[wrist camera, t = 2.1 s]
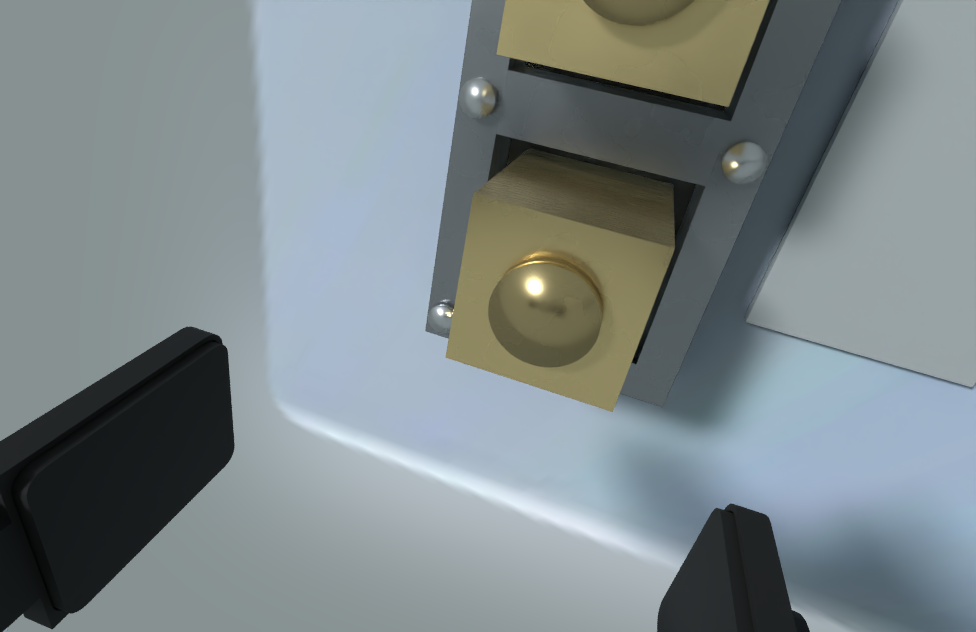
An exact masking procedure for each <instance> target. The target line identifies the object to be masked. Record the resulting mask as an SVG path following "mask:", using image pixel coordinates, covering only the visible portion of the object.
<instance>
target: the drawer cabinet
mask: <svg viewBox="0 0 976 632" xmlns="http://www.w3.org/2000/svg"><path fill="white" fill-rule="evenodd" d="M840 3H841V0H769V3H768V6H767V8H766V11H765V13H764V16H763V19H762V21H761V24H760V26H759V29H758V32H757V34H756V37H755V39H754V42H753V45H752V47H751V50H750V52H749V55H748V58H747V60H746V63H745V66H744V68H743V71H742V73H741V76H740V79H739V81H738V84H737V86H736V89H735V92H734V94H733V97H732V99H731V102H730V105H729V107H725V109H724V111H721V110H717V109H712V108H708V107H704V106H699V105H695V104H690V103H686V102H682V101H677V100H673V99H668V98H664V97H660V96H655V95H651V94H646V93H642V92H638V91H633V90H629V89H624V88H620V87H616V86H611V85H607V84H602V83H598V82H594V81H589V80H585V79H580V78H576V77H572V76H567V75H563V74H558V73H554V72H549V71H545V70H541V69H536V68H532V67H527V66H526V61H524V60H519V59H515V58H510V57H506V56H501V55H497V48H498V42H499V36H500V30H501V24H502V18H503V12H504V6H505V0H472V4H471V12H470V19H469V26H468V33H467V40H466V47H465V54H464V61H463V68H462V75H461V82H460V89H459V96H458V104H457V111H456V118H455V125H454V132H453V139H452V146H451V153H450V160H449V167H448V174H447V181H446V188H445V196H444V203H443V210H442V217H441V224H440V231H439V238H438V245H437V252H436V259H435V266H434V273H433V280H432V288H431V295H430V302H429V309H428V316H427V323H426V330H425V331H427V332H430V333H433V334H436V335H439V336H442V337H445V338H448V339H449V335H450V329H451V323H452V317H453V311H454V305H455V299H456V293H457V287H458V281H459V275H460V269H461V263H462V257H463V251H464V245H465V240H466V234H467V228H468V222H469V216H470V210H471V204H472V198H473V194H474V193H475V192H476V191H477V190H478V189H480V188H481V187H482V186H483V185H485V184H486V183H487V182H488V181H489V180H491V179H492V178H493V177H494V176H496V175H497V174H498V173H499V172H500V171H502V170H503V169H504V168H505V167H506V163H507V158H508V153H509V148H510V143H511V138H515V139H519V140H523V141H527V142H531V143H535V144H539V145H543V146H547V147H551V148H554V149H558V150H562V151H566V152H570V153H574V154H578V155H582V156H586V157H590V158H594V159H598V160H602V161H606V162H610V163H614V164H618V165H622V166H626V167H630V168H634V169H638V170H642V171H646V172H650V173H654V174H658V175H662V176H666V177H670V178H674V179H678V180H682V181H686V182H690V183H694V184H696V186H695V188H694V191H693V194H692V196H691V199H690V202H689V204H688V207H687V210H686V212H685V215H684V217H683V220H682V223H681V225H680V228H679V231H678V233H677V236H676V239H675V250H674V252H673V255H672V257H671V260H670V263H669V265H668V268H667V271H666V273H665V276H664V278H663V281H662V284H661V286H660V289H659V292H658V294H657V297H656V299H655V302H654V305H653V307H652V310H651V313H650V315H649V318H648V320H647V323H646V326H645V328H644V331H643V334H642V336H641V339H640V341H639V344H638V347H637V349H636V352H635V354H634V357H633V360H632V362H631V365H630V368H629V370H628V373H627V375H626V378H625V381H624V383H623V386H622V389H621V391H620V394H623V395H626V396H629V397H632V398H635V399H639V400H642V401H645V402H648V403H651V404H654V405H657V406H660V407H663V405H664V402H665V400H666V398H667V395H668V393H669V391H670V389H671V386H672V384H673V382H674V380H675V377H676V375H677V373H678V371H679V368H680V366H681V364H682V361H683V359H684V357H685V355H686V352H687V350H688V348H689V346H690V343H691V341H692V339H693V336H694V334H695V332H696V330H697V327H698V325H699V323H700V321H701V318H702V316H703V314H704V311H705V309H706V307H707V305H708V302H709V300H710V298H711V296H712V293H713V291H714V289H715V286H716V284H717V282H718V280H719V277H720V275H721V273H722V271H723V268H724V266H725V264H726V262H727V259H728V257H729V255H730V252H731V250H732V248H733V246H734V243H735V241H736V239H737V237H738V234H739V232H740V230H741V227H742V225H743V223H744V221H745V218H746V216H747V214H748V212H749V209H750V207H751V205H752V202H753V200H754V198H755V196H756V193H757V191H758V189H759V187H760V184H761V182H762V180H763V178H764V175H765V173H766V171H767V168H768V166H769V164H770V162H771V159H772V157H773V155H774V153H775V150H776V148H777V146H778V143H779V141H780V139H781V137H782V134H783V132H784V130H785V128H786V125H787V123H788V121H789V118H790V116H791V114H792V112H793V109H794V107H795V105H796V103H797V100H798V98H799V96H800V93H801V91H802V89H803V87H804V84H805V82H806V80H807V78H808V75H809V73H810V71H811V69H812V66H813V64H814V62H815V59H816V57H817V55H818V53H819V50H820V48H821V46H822V44H823V41H824V39H825V37H826V34H827V32H828V30H829V28H830V25H831V23H832V21H833V19H834V16H835V14H836V12H837V9H838V7H839V5H840Z"/></svg>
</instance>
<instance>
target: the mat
mask: <svg viewBox="0 0 976 632" xmlns="http://www.w3.org/2000/svg"><path fill="white" fill-rule="evenodd" d="M744 319H745V322H747V323H750V324H754V325H757V326H760V327H764V328H767V329H771V330H774V331H778V332H781V333H785V334H788V335H792V336H795V337H799V338H802V339H806V340H809V341H813V342H816V343H820V344H823V345H826V346H830V347H833V348H837V349H840V350H844V351H847V352H851V353H854V354H858V355H861V356H865V357H868V358H872V359H875V360H879V361H882V362H886V363H889V364H892V365H896V366H899V367H903V368H906V369H910V370H913V371H917V372H920V373H924V374H927V375H931V376H934V377H938V378H941V379H945V380H948V381H952V382H955V383H958V384H962V385H965V386H969V387H973V386H974V384H975V383H976V0H898V3H897V5H896V7H895V9H894V11H893V13H892V15H891V17H890V19H889V21H888V23H887V25H886V27H885V29H884V31H883V33H882V35H881V37H880V40H879V42H878V44H877V46H876V48H875V50H874V52H873V54H872V56H871V58H870V60H869V62H868V64H867V66H866V68H865V70H864V72H863V74H862V77H861V79H860V81H859V83H858V85H857V87H856V89H855V91H854V93H853V95H852V97H851V99H850V101H849V103H848V105H847V107H846V109H845V111H844V114H843V116H842V118H841V120H840V122H839V124H838V126H837V128H836V130H835V132H834V134H833V136H832V138H831V140H830V142H829V144H828V146H827V148H826V151H825V153H824V155H823V157H822V159H821V161H820V163H819V165H818V167H817V169H816V171H815V173H814V175H813V177H812V179H811V181H810V183H809V185H808V188H807V190H806V192H805V194H804V196H803V198H802V200H801V202H800V204H799V206H798V208H797V210H796V212H795V214H794V216H793V218H792V220H791V222H790V225H789V227H788V229H787V231H786V233H785V235H784V237H783V239H782V241H781V243H780V245H779V247H778V249H777V251H776V253H775V255H774V257H773V259H772V261H771V264H770V266H769V268H768V270H767V272H766V274H765V276H764V278H763V280H762V282H761V284H760V286H759V288H758V290H757V292H756V294H755V296H754V298H753V301H752V303H751V305H750V307H749V309H748V311H747V313H746V315H745V317H744Z"/></svg>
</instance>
